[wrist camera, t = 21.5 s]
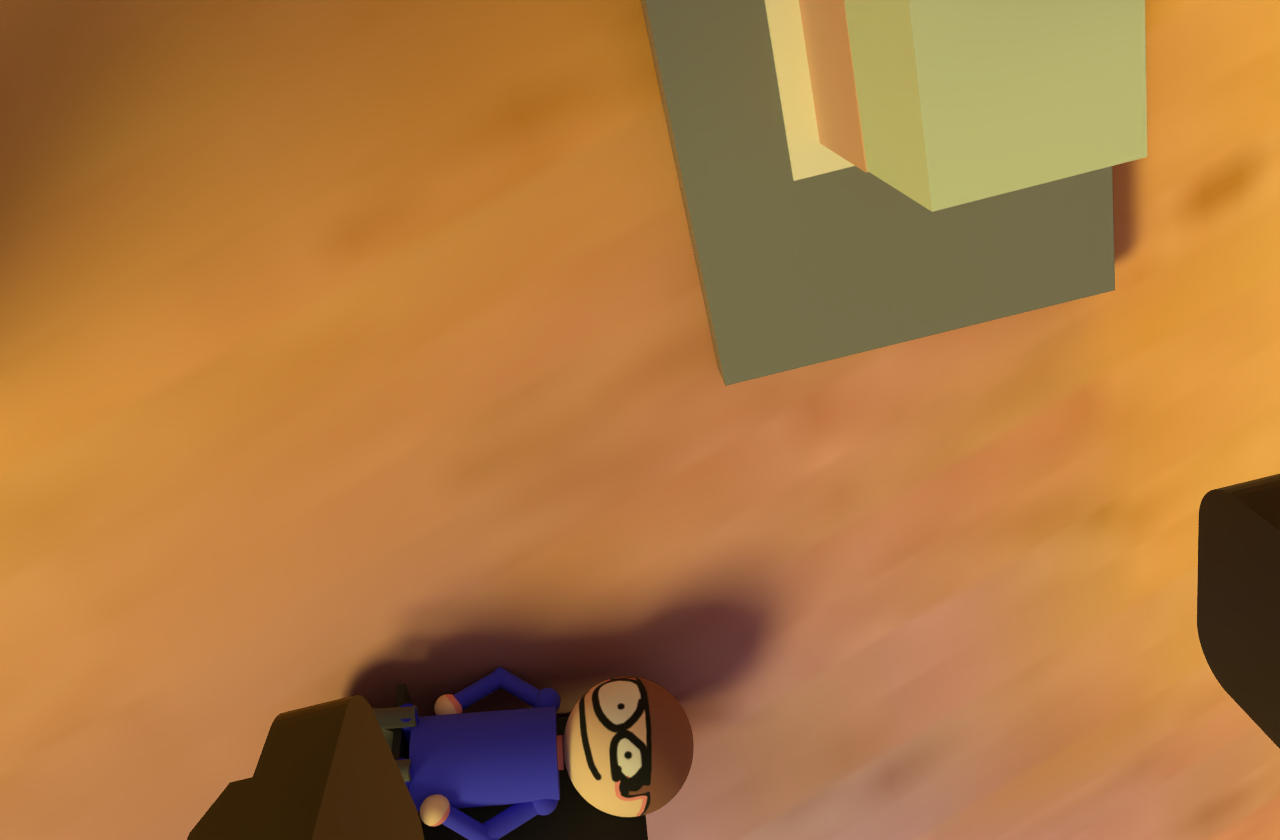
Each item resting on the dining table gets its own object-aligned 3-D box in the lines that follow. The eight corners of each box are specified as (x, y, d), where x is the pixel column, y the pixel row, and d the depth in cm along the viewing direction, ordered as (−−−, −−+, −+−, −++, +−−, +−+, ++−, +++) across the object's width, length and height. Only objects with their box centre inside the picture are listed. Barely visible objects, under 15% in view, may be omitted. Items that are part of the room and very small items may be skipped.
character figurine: (312, 649, 40) (679, 628, 42) (332, 795, 43) (678, 771, 44) (262, 780, 33) (709, 750, 34) (290, 946, 36) (706, 912, 37)
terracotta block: (819, 143, 32) (866, 172, 27) (795, -25, 30) (840, -23, 25) (973, 104, 32) (1044, 127, 27) (958, -66, 30) (1034, -72, 25)
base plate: (718, 368, 37) (726, 386, 35) (584, -271, 28) (586, -285, 27) (1092, 276, 36) (1116, 290, 35) (1070, -396, 28) (1100, -417, 26)
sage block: (867, 170, 27) (932, 211, 23) (840, -25, 25) (906, -23, 21) (1046, 125, 27) (1147, 156, 23) (1034, -75, 25) (1143, -84, 20)
